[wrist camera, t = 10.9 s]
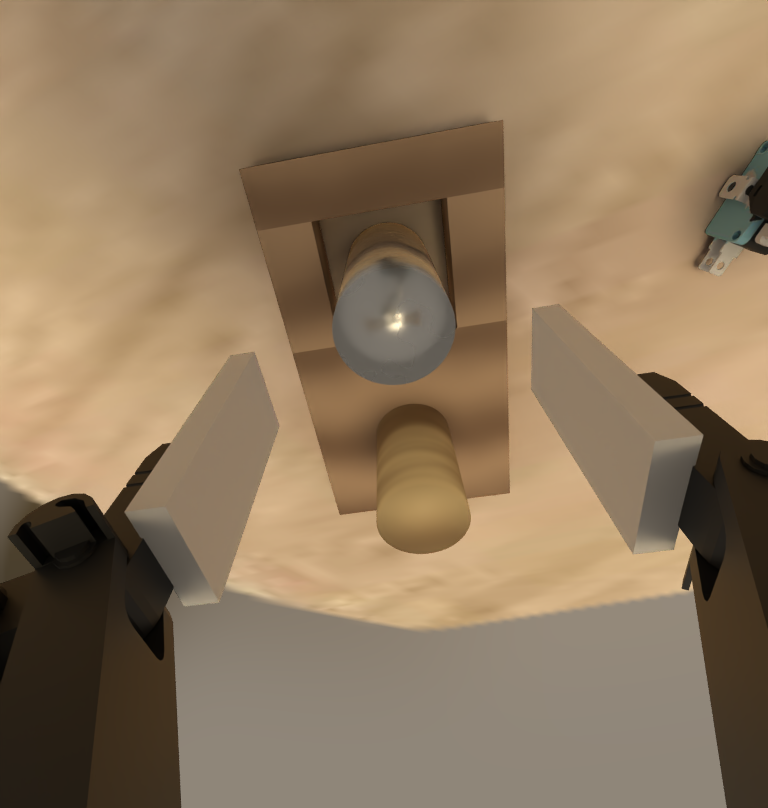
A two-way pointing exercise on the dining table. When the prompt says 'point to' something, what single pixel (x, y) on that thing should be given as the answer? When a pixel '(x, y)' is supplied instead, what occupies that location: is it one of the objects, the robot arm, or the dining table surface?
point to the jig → (438, 391)
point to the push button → (741, 216)
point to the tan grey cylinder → (392, 308)
